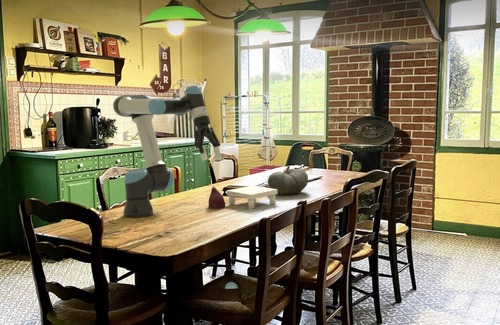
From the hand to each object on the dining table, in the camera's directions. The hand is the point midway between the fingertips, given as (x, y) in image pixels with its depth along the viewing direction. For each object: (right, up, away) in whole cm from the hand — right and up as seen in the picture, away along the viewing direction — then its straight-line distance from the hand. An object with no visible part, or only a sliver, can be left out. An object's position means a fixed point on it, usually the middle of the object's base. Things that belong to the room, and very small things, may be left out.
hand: (212, 160), depth 229 cm
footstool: (+19, -24, +43) cm, 53 cm away
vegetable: (0, -26, +37) cm, 45 cm away
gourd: (+41, -20, +72) cm, 85 cm away
